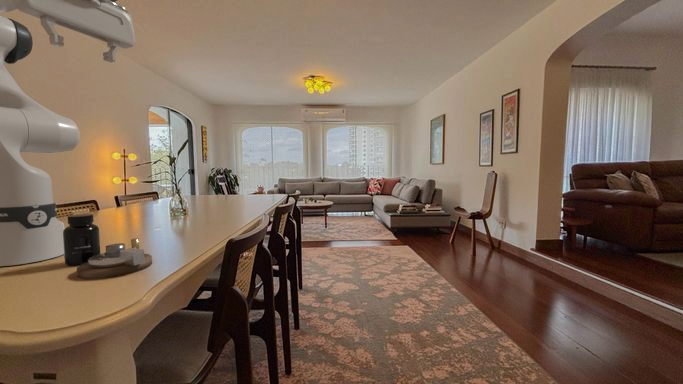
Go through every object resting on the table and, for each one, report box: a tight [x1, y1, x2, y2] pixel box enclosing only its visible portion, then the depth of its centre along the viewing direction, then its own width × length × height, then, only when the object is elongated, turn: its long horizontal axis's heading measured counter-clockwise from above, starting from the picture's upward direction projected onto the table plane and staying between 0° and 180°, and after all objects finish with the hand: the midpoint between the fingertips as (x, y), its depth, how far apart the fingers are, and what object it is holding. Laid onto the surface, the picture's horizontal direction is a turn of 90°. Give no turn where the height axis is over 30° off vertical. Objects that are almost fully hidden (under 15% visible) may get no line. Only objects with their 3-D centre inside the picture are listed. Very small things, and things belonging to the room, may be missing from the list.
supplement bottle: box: [63, 213, 101, 267], centre depth 73 cm, size 7×7×12 cm
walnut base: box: [76, 237, 153, 280], centre depth 69 cm, size 14×14×6 cm
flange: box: [88, 242, 145, 267], centre depth 68 cm, size 13×10×4 cm
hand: (85, 53), depth 63 cm, fingers open, 8 cm apart
